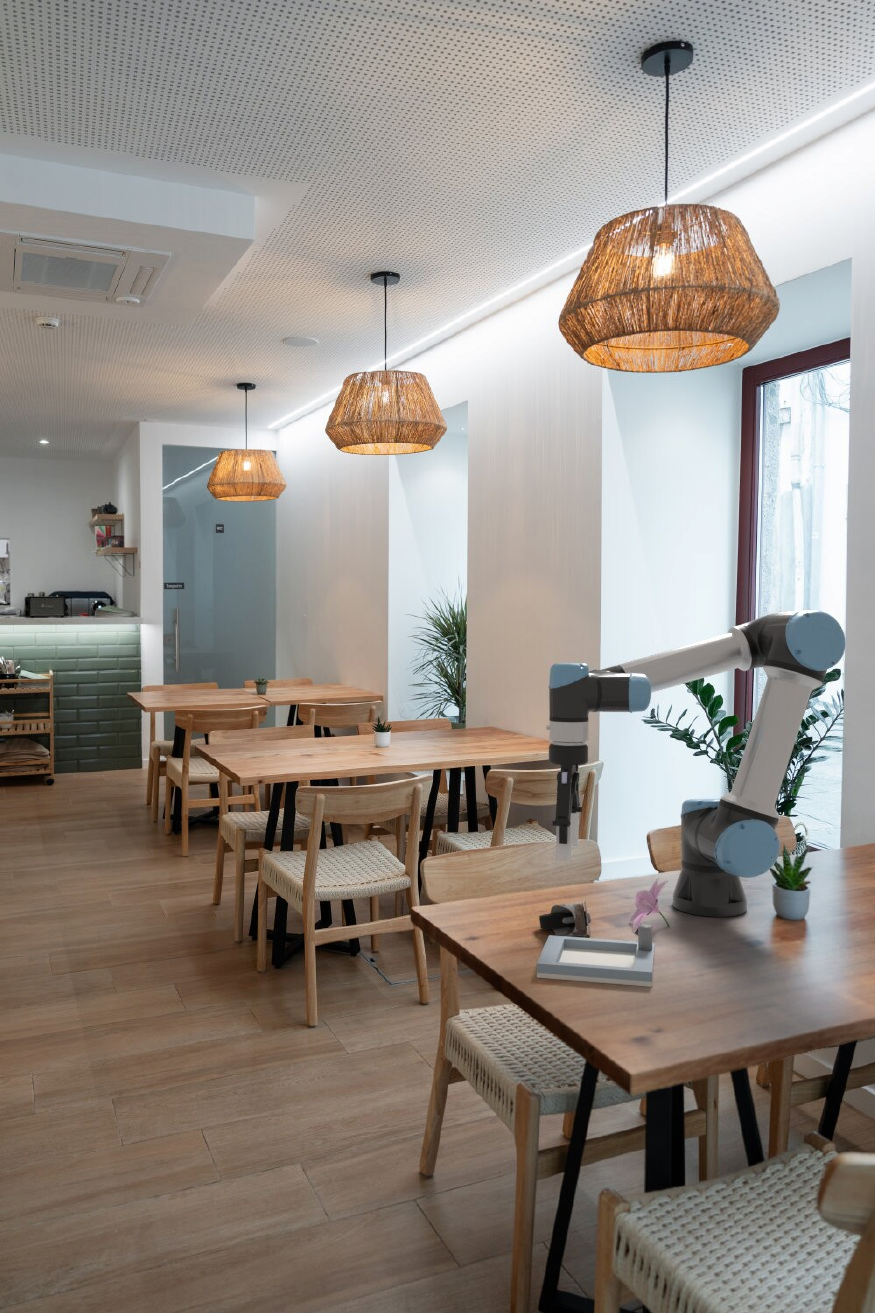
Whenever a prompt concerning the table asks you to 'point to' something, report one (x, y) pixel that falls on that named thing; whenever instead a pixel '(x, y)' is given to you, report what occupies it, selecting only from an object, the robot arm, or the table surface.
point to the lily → (647, 903)
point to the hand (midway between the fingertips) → (567, 853)
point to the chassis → (599, 959)
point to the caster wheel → (567, 920)
